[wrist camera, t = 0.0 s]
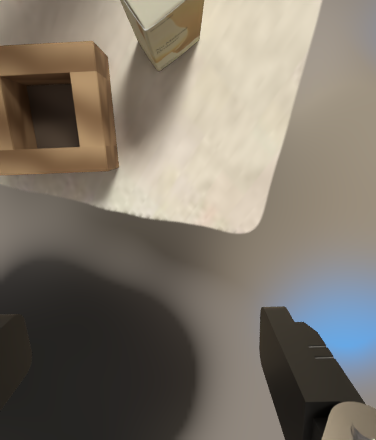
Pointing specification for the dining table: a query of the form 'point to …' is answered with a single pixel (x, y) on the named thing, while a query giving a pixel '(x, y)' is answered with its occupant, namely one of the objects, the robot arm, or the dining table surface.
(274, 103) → the dining table surface
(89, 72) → the socket block
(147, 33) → the skincare box
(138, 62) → the dining table surface
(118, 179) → the dining table surface
